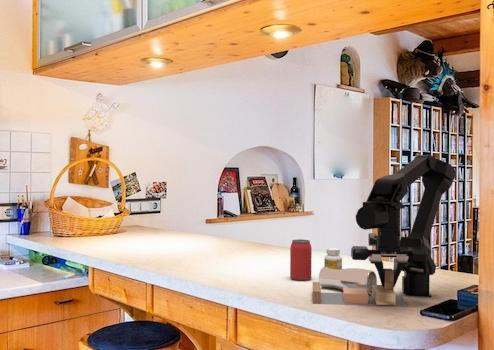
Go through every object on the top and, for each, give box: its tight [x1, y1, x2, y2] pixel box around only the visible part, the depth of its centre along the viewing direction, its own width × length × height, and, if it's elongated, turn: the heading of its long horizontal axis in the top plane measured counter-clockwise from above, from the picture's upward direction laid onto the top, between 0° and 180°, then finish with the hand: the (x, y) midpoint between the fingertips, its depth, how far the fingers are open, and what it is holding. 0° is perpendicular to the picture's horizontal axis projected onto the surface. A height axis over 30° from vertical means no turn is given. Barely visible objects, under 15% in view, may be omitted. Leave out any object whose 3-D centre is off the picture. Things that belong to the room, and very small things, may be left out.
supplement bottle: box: [323, 247, 343, 269], centre depth 164 cm, size 5×5×10 cm
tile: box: [342, 288, 368, 304], centre depth 138 cm, size 6×6×2 cm
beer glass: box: [318, 266, 378, 295], centre depth 149 cm, size 7×7×15 cm
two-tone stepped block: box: [372, 267, 397, 305], centre depth 137 cm, size 5×9×8 cm, turn 174°
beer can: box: [289, 238, 313, 282], centre depth 165 cm, size 7×7×12 cm
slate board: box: [312, 281, 410, 308], centre depth 139 cm, size 24×12×3 cm, turn 83°
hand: (388, 286), depth 137 cm, fingers closed on two-tone stepped block, 2 cm apart
